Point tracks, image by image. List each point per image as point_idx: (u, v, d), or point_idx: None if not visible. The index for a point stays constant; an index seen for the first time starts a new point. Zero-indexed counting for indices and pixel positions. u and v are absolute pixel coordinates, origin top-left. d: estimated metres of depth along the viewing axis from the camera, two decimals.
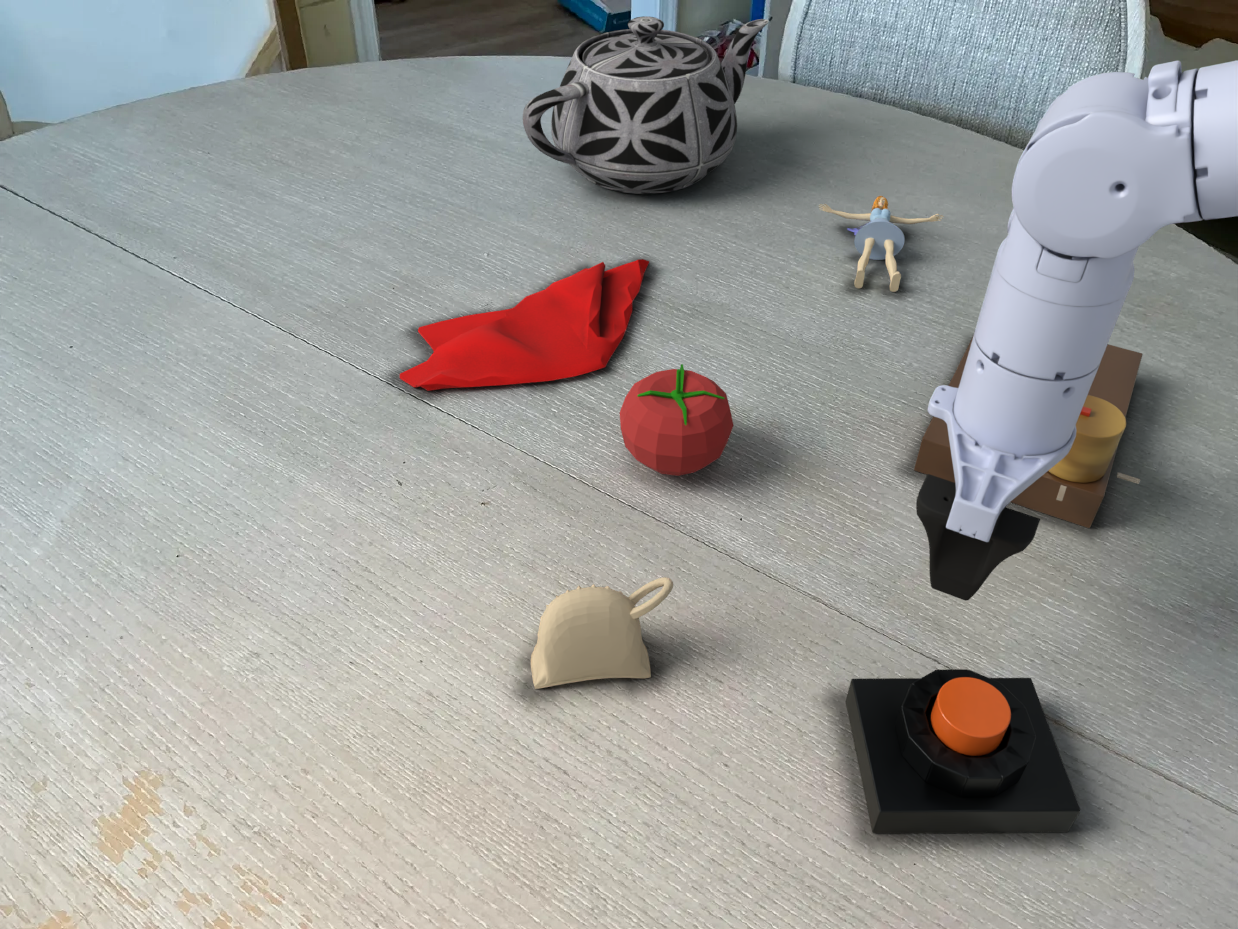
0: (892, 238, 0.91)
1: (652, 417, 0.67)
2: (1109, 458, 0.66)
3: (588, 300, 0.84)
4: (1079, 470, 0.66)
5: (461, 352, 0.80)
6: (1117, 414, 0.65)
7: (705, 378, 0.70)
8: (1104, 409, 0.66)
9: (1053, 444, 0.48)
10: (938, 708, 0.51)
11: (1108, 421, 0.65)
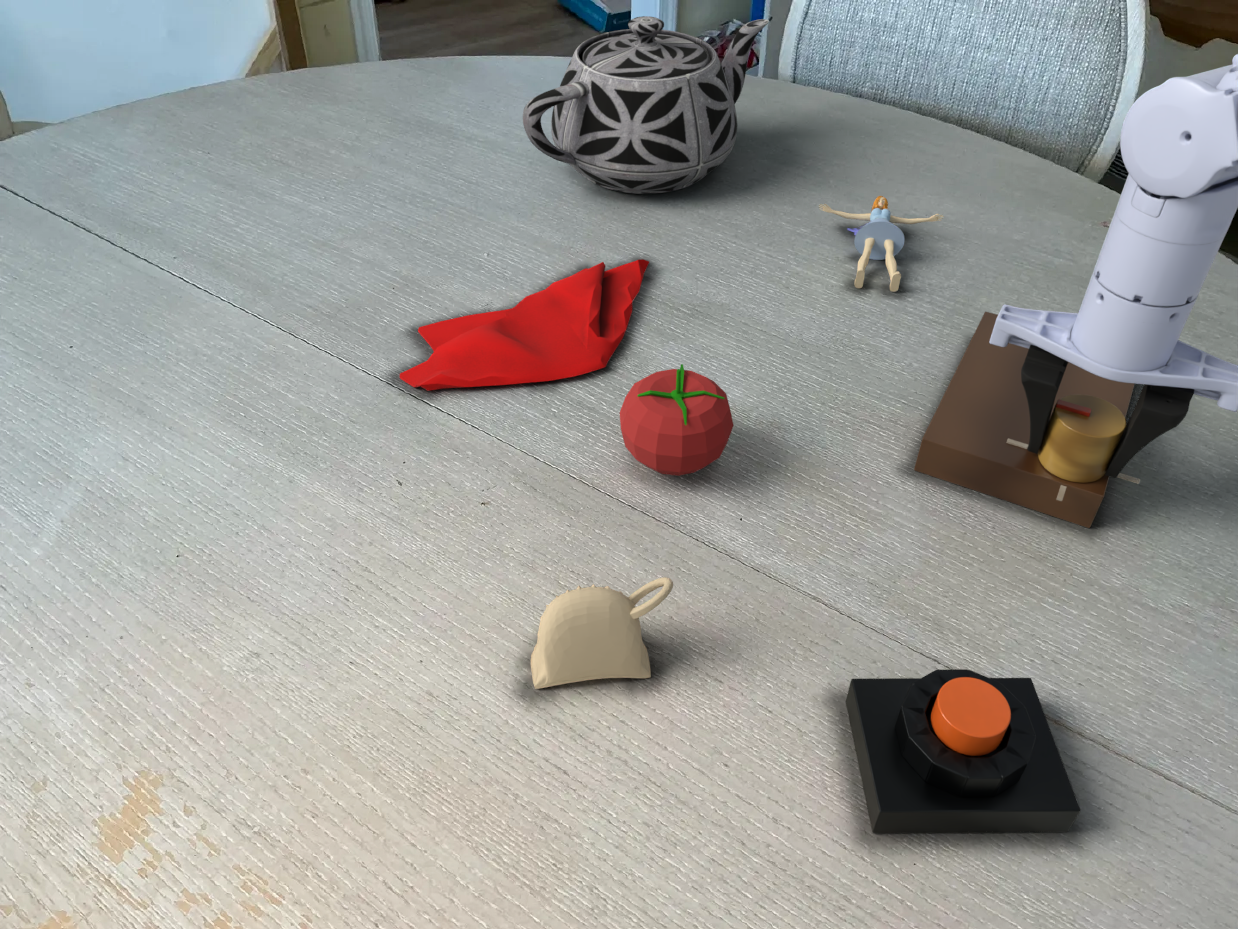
0: (892, 238, 0.91)
1: (652, 416, 0.67)
2: (1109, 458, 0.66)
3: (588, 300, 0.84)
4: (1079, 470, 0.66)
5: (461, 352, 0.80)
6: (1117, 414, 0.65)
7: (705, 378, 0.70)
8: (1104, 409, 0.66)
9: (1085, 346, 0.60)
10: (938, 708, 0.51)
11: (1108, 421, 0.65)
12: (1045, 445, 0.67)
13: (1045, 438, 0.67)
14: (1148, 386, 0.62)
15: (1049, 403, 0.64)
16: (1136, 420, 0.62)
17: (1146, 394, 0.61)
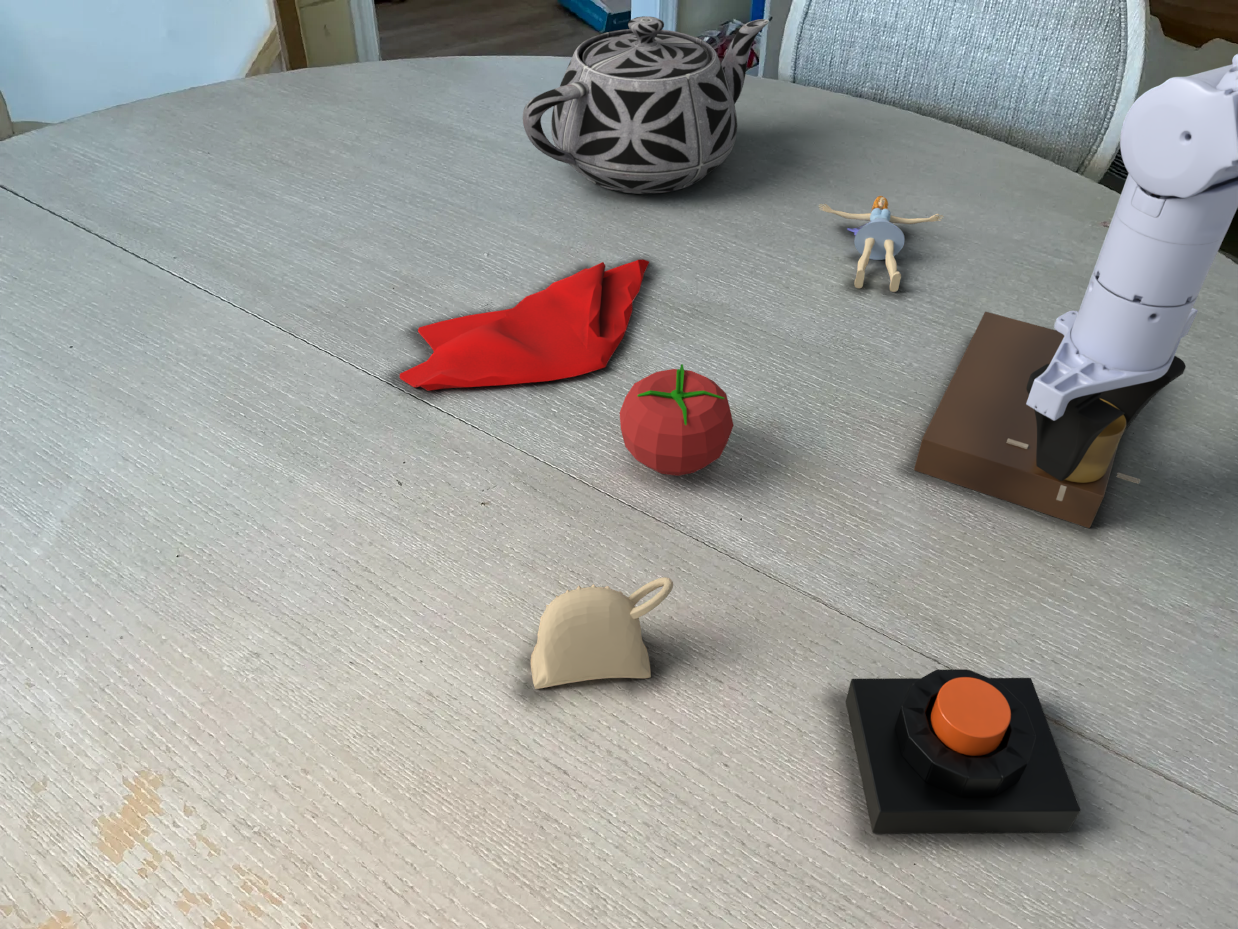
0: (892, 238, 0.91)
1: (652, 417, 0.67)
2: None
3: (588, 300, 0.84)
4: (1109, 462, 0.66)
5: (461, 352, 0.80)
6: None
7: (705, 378, 0.70)
8: None
9: (1139, 364, 0.59)
10: (938, 708, 0.51)
11: None
12: None
13: None
14: None
15: (1100, 430, 0.62)
16: (1155, 392, 0.64)
17: None
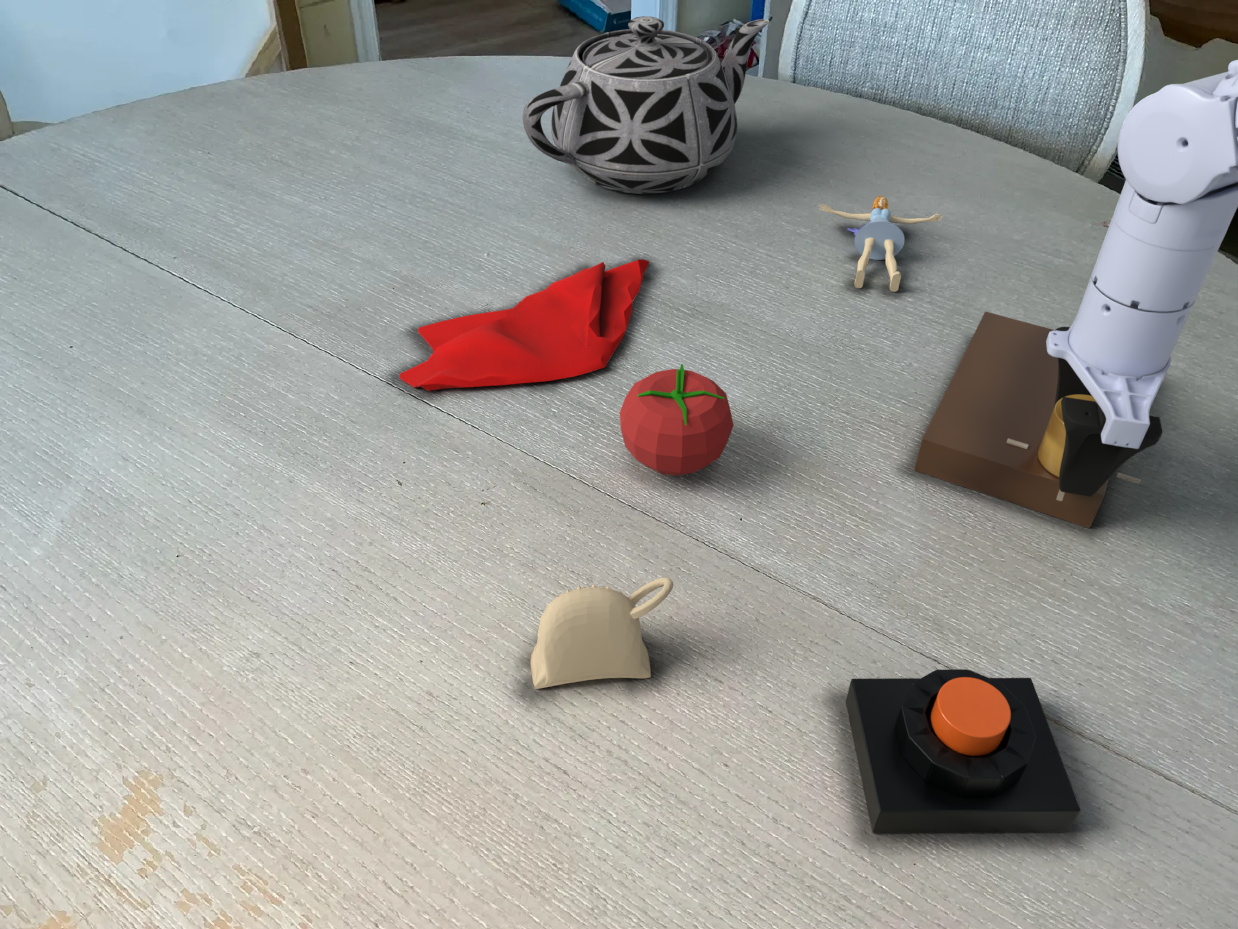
0: (892, 238, 0.91)
1: (652, 416, 0.67)
2: None
3: (588, 300, 0.84)
4: None
5: (461, 352, 0.80)
6: None
7: (705, 378, 0.70)
8: None
9: (1163, 363, 0.60)
10: (938, 708, 0.51)
11: None
12: None
13: None
14: None
15: None
16: None
17: None
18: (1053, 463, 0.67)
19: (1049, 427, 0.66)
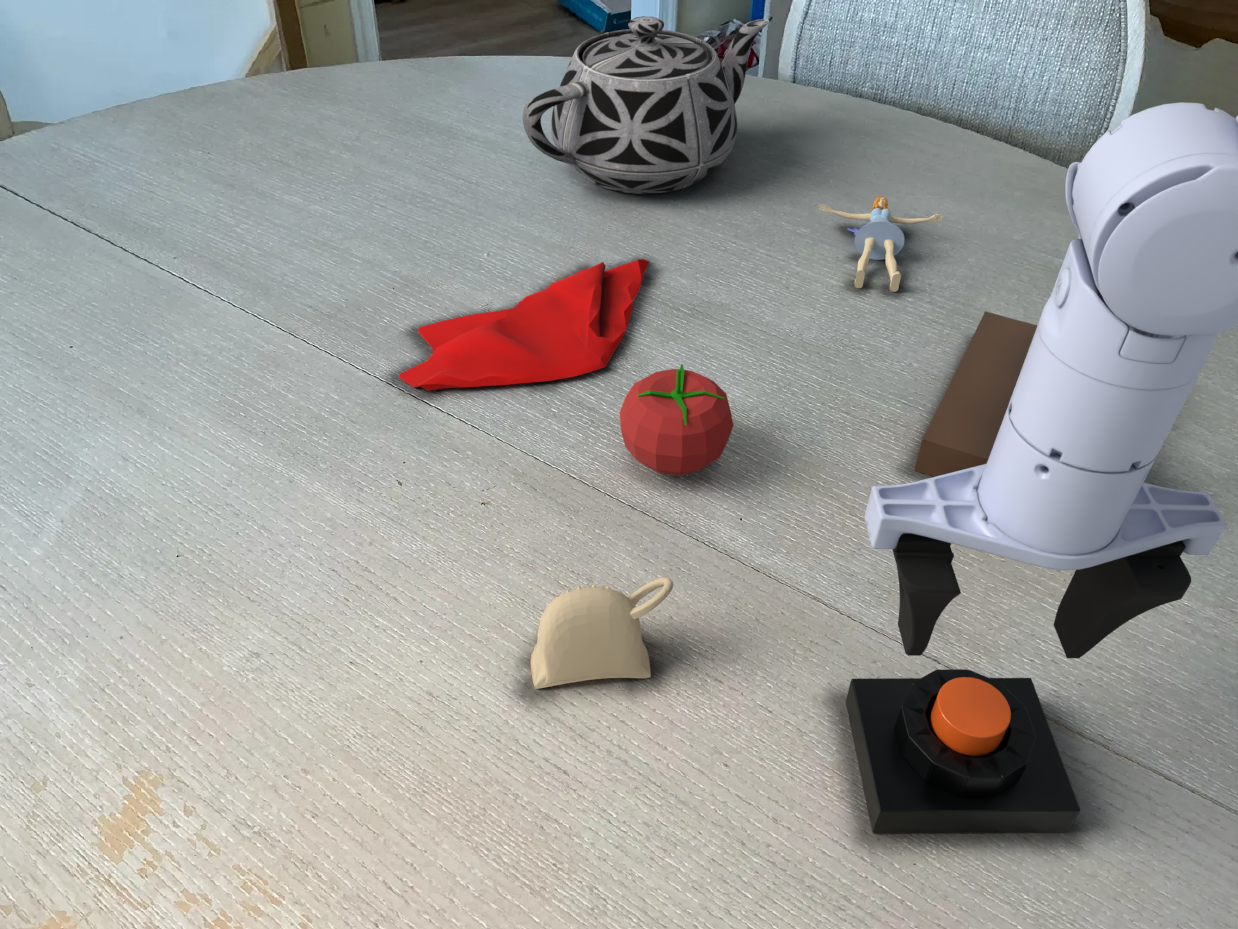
0: (892, 238, 0.91)
1: (652, 416, 0.67)
2: None
3: (588, 300, 0.84)
4: None
5: (461, 352, 0.80)
6: None
7: (705, 378, 0.70)
8: None
9: (1024, 533, 0.41)
10: (938, 708, 0.51)
11: None
12: None
13: None
14: None
15: (941, 605, 0.44)
16: (1125, 601, 0.43)
17: (1130, 564, 0.43)
18: None
19: None
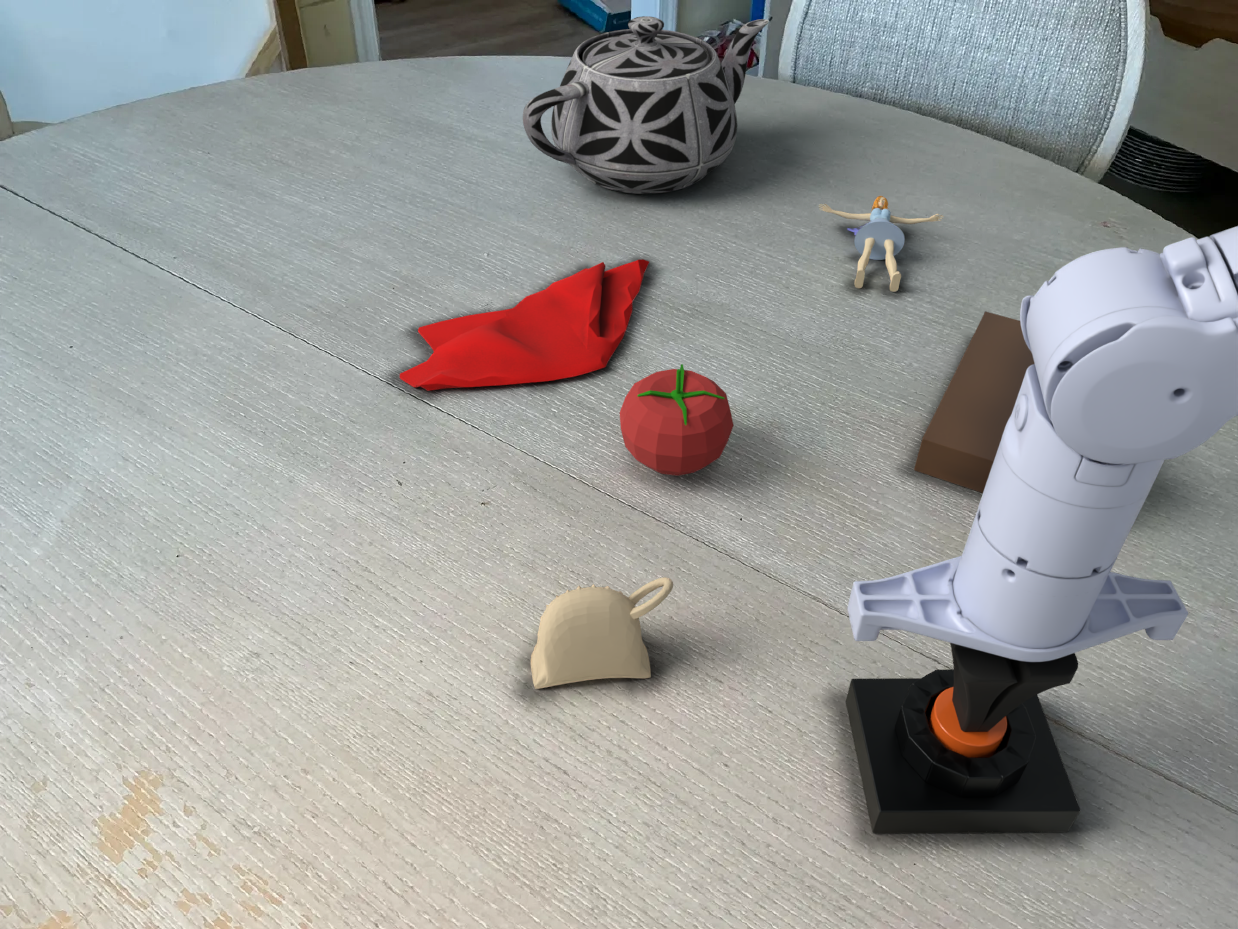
0: (892, 238, 0.91)
1: (652, 416, 0.67)
2: None
3: (588, 300, 0.84)
4: None
5: (461, 352, 0.80)
6: None
7: (705, 378, 0.70)
8: None
9: (995, 629, 0.43)
10: (935, 717, 0.51)
11: None
12: None
13: None
14: None
15: (997, 690, 0.47)
16: (1018, 685, 0.46)
17: None
18: None
19: None
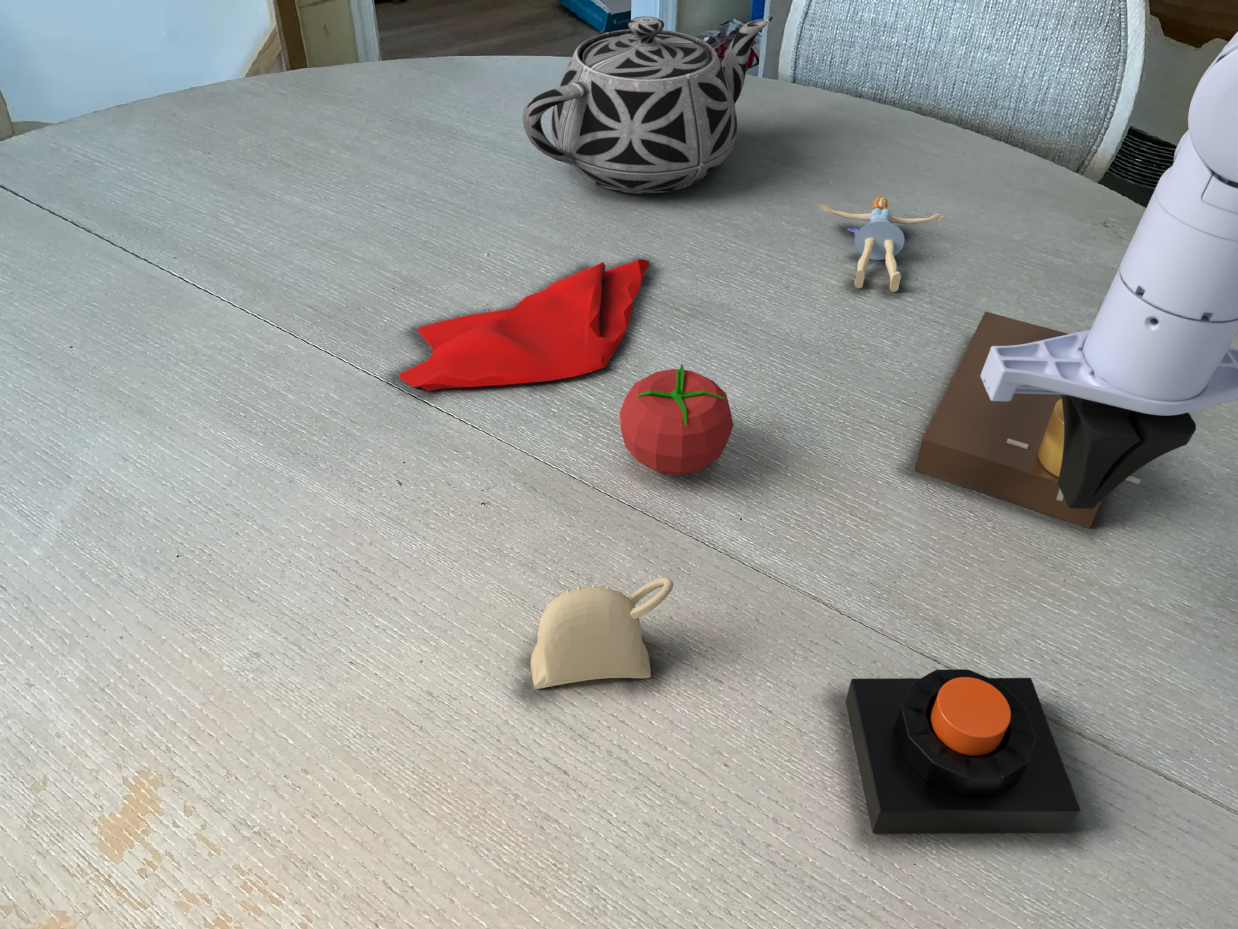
0: (892, 238, 0.91)
1: (652, 416, 0.67)
2: None
3: (588, 300, 0.84)
4: None
5: (461, 352, 0.80)
6: None
7: (705, 378, 0.70)
8: None
9: (1129, 382, 0.47)
10: (938, 708, 0.51)
11: None
12: None
13: None
14: None
15: (1115, 455, 0.50)
16: (1138, 447, 0.49)
17: (1143, 414, 0.49)
18: (1053, 463, 0.67)
19: (1049, 427, 0.66)
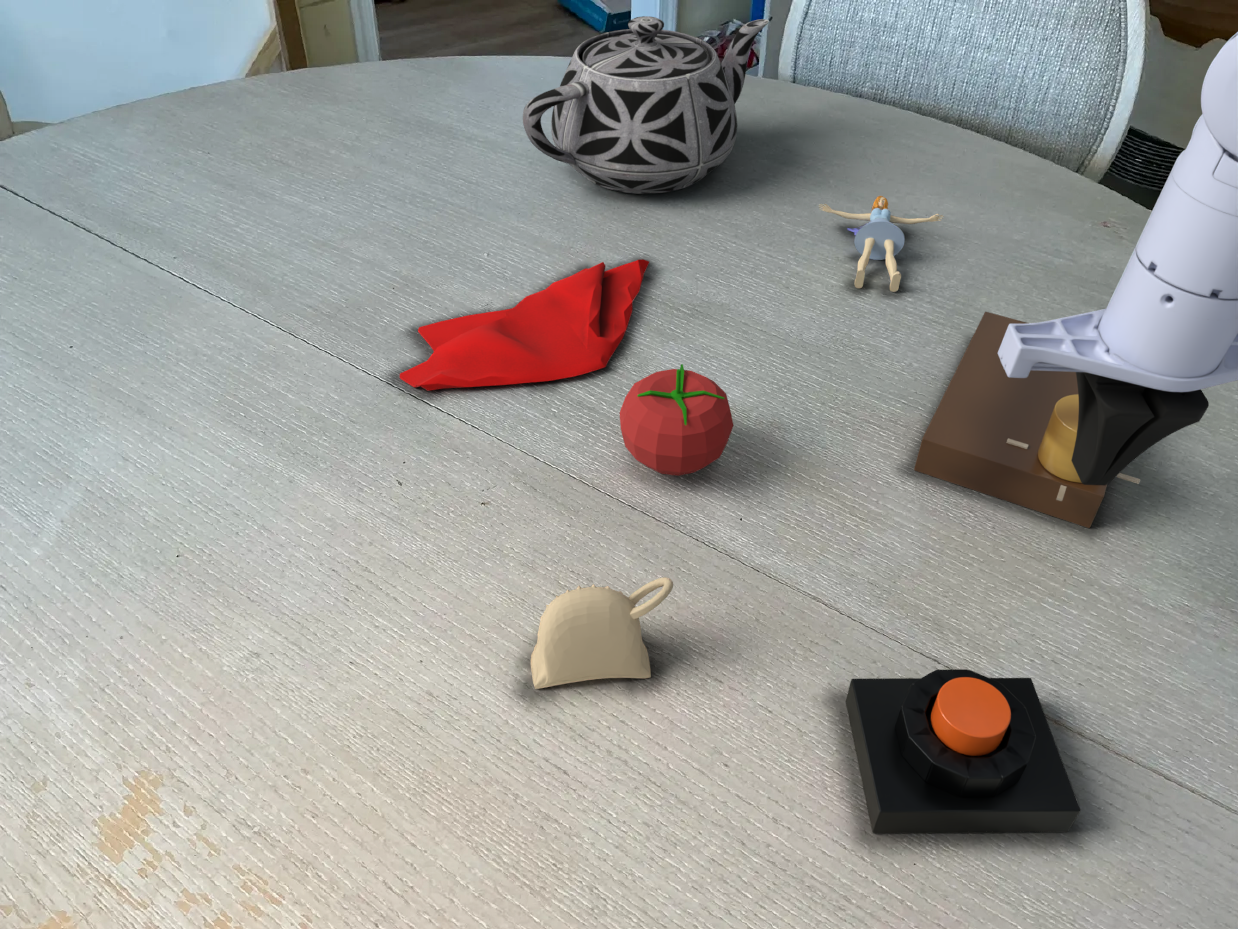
0: (892, 238, 0.91)
1: (652, 417, 0.67)
2: None
3: (588, 300, 0.84)
4: None
5: (461, 352, 0.80)
6: (1074, 398, 0.67)
7: (705, 378, 0.70)
8: (1072, 405, 0.66)
9: (1144, 359, 0.48)
10: (938, 708, 0.51)
11: None
12: None
13: None
14: None
15: (1129, 431, 0.51)
16: (1152, 424, 0.51)
17: (1157, 391, 0.50)
18: (1053, 463, 0.67)
19: (1049, 427, 0.66)
